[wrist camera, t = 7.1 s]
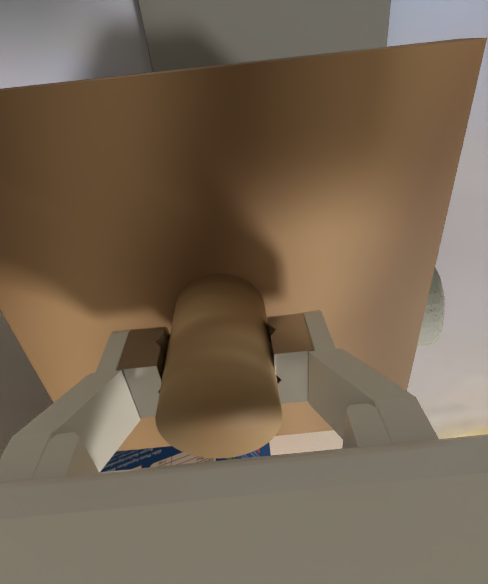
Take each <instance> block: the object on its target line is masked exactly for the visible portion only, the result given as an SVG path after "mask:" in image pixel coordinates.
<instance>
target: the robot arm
mask: <svg viewBox="0 0 488 584" xmlns="http://www.w3.org/2000/svg"><path fill="white" fill-rule="evenodd" d="M267 325H268V332H269V338H270V342H271V350H272V357H273V363H274V369H275V373H276V378H277V384H278V390H279V396H280V402H281V403H295V402H308V403H309V404H310V405H311V406H312V407H313V408H314V409H315V411H316V412H317V413H318V414H319V415H320V416H321V417H322V418H323V419H324V420H325V421H326V422H327V423H328V424H329V425H330V426H331V427H332V428H333V429H334V430H335V432H336V433H337V434H338V435H339V436H340V437H341V438H342V439H343V448H342V449H334V450H324V451H313V452H303V453H293V454H282V455H272V456H262V457H252V458H241V459H231V460H221V461H211V462H200V463H190V464H180V465H170V466H160V467H149V468H139V469H129V470H119V471H108V472H100V471H101V470H102V469H103V468H104V466H105V465H106V464H107V462H108V461H109V460H110V459H111V457H112V456H113V455H114V453H115V452H116V451H117V450H118V448H119V447H120V446H121V444H122V443H123V442H124V441H125V439H126V438H127V437H128V435H129V434H130V433H131V432H132V430H133V429H134V428H135V426H136V425H137V424H138V423H139V421H140V418H146V417H154V416H156V410H157V405H158V399H159V394H160V388H161V383H162V377H163V372H164V366H165V361H166V355H167V349H168V344H169V338H170V333H169V330H168V328H167V327H156V328H143V329H132V330H121V331H114V332H112V333H111V334H110V336H109V339H108V341H107V344H106V346H105V349H104V351H103V354H102V356H101V359H100V362H99V364H98V367H97V369H96V372H95V373H90V374H88V375H87V376H86V377H85V378H83V379H82V380H81V381H80V382H79V383H77V384H76V385H75V386H74V387H72V388H71V389H70V390H69V391H67V392H66V393H65V394H64V395H63V396H61V397H60V398H59V399H58V400H56V401H55V402H54V403H53V404H51V405H50V406H49V407H48V408H47V409H45V410H44V411H43V412H42V413H40V414H39V415H38V416H37V417H35V418H34V419H33V420H32V421H31V422H29V423H28V424H27V425H26V426H24V427H23V428H22V429H21V430H19V431H18V432H17V433H16V434H15V435H13V436H12V437H11V439H10V441H9V443H8V445H7V447H6V448H5V450H4V452H3V454H2V456H1V458H0V584H488V435H478V436H467V437H457V438H447V439H438V437H437V435H436V433H435V431H434V430H433V428H432V426H431V424H430V422H429V420H428V419H427V417H426V415H425V413H424V411H423V410H422V408H421V406H420V404H419V402H418V400H417V399H416V397H415V396H413V395H412V394H410V393H408V392H407V391H405V390H404V389H402V388H401V387H399V386H398V385H396V384H395V383H393V382H392V381H390V380H389V379H387V378H386V377H384V376H383V375H381V374H380V373H378V372H377V371H375V370H374V369H372V368H371V367H369V366H368V365H366V364H365V363H363V362H361V361H360V360H358V359H357V358H355V357H354V356H352V355H351V354H349V353H348V352H346V351H345V350H343V349H342V348H338V349H336V348H335V345H334V342H333V340H332V337H331V334H330V332H329V329H328V327H327V324H326V321H325V319H324V316H323V313H322V312H321V311H320V310H317V311H309V312H302V313H297V314H287V315H278V316H269V317H267Z"/></svg>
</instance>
